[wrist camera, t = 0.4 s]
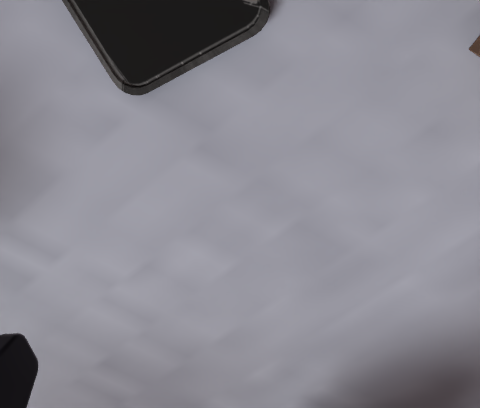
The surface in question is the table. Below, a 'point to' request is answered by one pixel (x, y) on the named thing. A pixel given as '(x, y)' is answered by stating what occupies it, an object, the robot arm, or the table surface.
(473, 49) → the switch panel
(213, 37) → the phone
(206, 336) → the table surface
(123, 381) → the table surface
